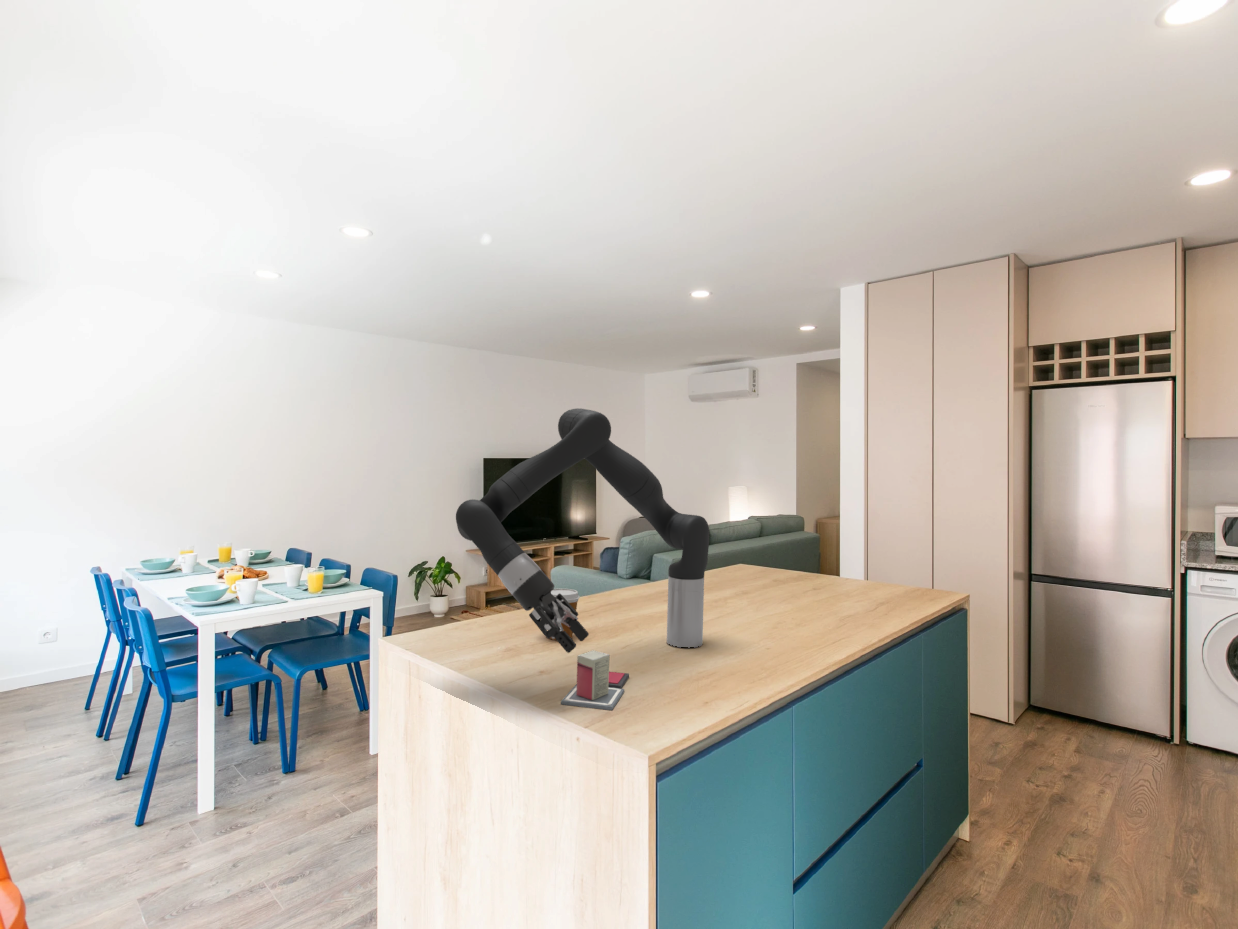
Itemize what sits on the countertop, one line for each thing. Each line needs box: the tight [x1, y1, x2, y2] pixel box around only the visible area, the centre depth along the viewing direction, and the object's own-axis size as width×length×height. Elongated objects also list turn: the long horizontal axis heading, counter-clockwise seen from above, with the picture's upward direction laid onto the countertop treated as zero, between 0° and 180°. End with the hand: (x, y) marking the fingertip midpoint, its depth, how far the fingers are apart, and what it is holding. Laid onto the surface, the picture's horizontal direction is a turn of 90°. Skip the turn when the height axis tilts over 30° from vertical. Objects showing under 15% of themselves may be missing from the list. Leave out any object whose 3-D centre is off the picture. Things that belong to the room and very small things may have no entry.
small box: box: [576, 649, 610, 700], centre depth 125 cm, size 5×4×8 cm
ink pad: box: [608, 670, 630, 689], centre depth 134 cm, size 8×8×1 cm
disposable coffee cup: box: [548, 588, 580, 641], centre depth 167 cm, size 10×10×12 cm
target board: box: [560, 683, 625, 711], centre depth 125 cm, size 10×10×1 cm
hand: (579, 643), depth 125 cm, fingers open, 8 cm apart
